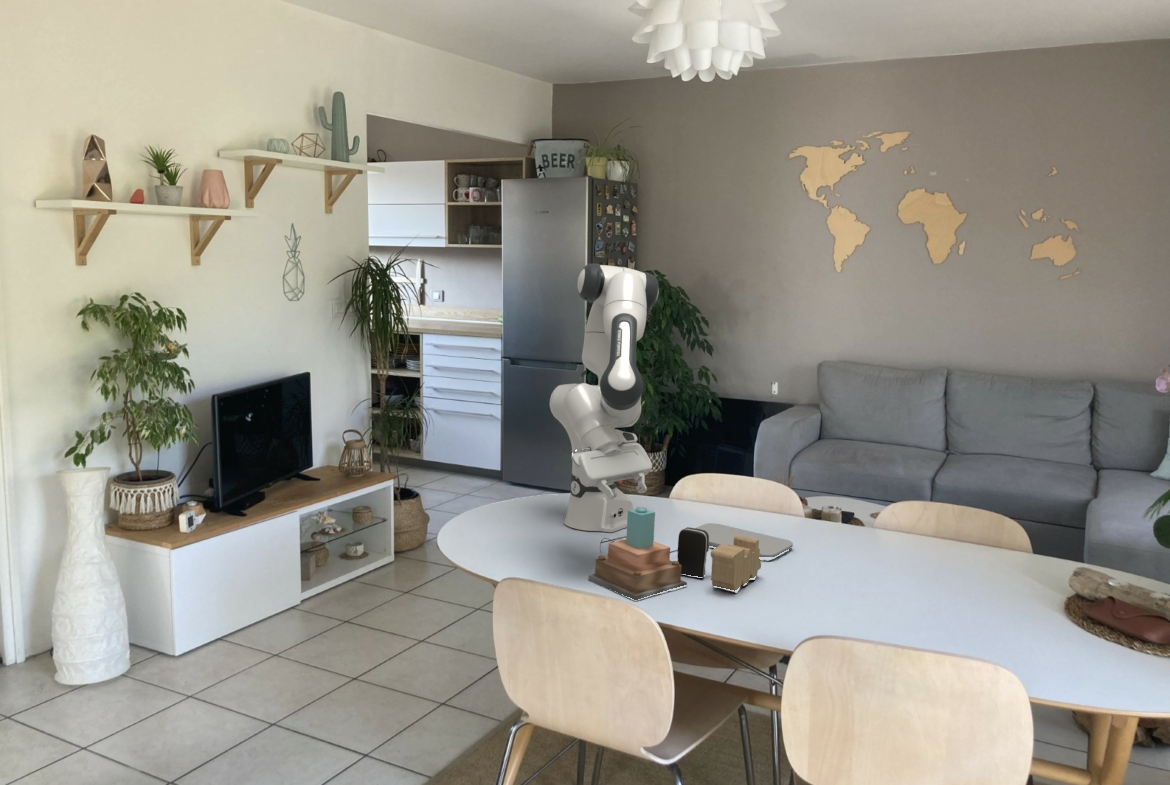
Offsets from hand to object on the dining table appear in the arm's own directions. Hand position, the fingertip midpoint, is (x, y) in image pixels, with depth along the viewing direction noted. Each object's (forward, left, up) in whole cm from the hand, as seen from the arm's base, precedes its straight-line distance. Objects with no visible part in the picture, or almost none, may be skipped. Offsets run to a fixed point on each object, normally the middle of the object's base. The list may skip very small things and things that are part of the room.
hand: (628, 494), depth 217 cm
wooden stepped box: (0, +5, -20) cm, 20 cm away
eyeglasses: (-14, -10, -21) cm, 27 cm away
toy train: (-19, +18, -20) cm, 33 cm away
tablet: (-42, -2, -21) cm, 47 cm away
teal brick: (0, +5, -11) cm, 12 cm away
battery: (-15, +8, -20) cm, 26 cm away
